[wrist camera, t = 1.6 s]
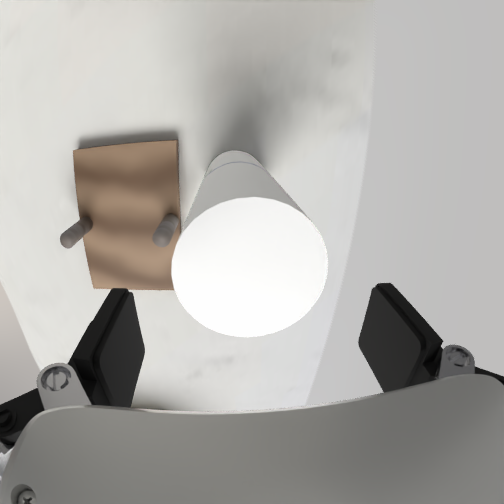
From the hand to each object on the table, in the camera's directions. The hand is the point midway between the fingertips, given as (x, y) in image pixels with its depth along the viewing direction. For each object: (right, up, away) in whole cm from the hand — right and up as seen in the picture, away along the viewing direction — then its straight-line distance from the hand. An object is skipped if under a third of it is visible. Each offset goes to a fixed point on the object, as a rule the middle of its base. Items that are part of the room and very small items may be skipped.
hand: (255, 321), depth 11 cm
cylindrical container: (-2, +12, +25) cm, 28 cm away
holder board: (-16, +7, +26) cm, 31 cm away
